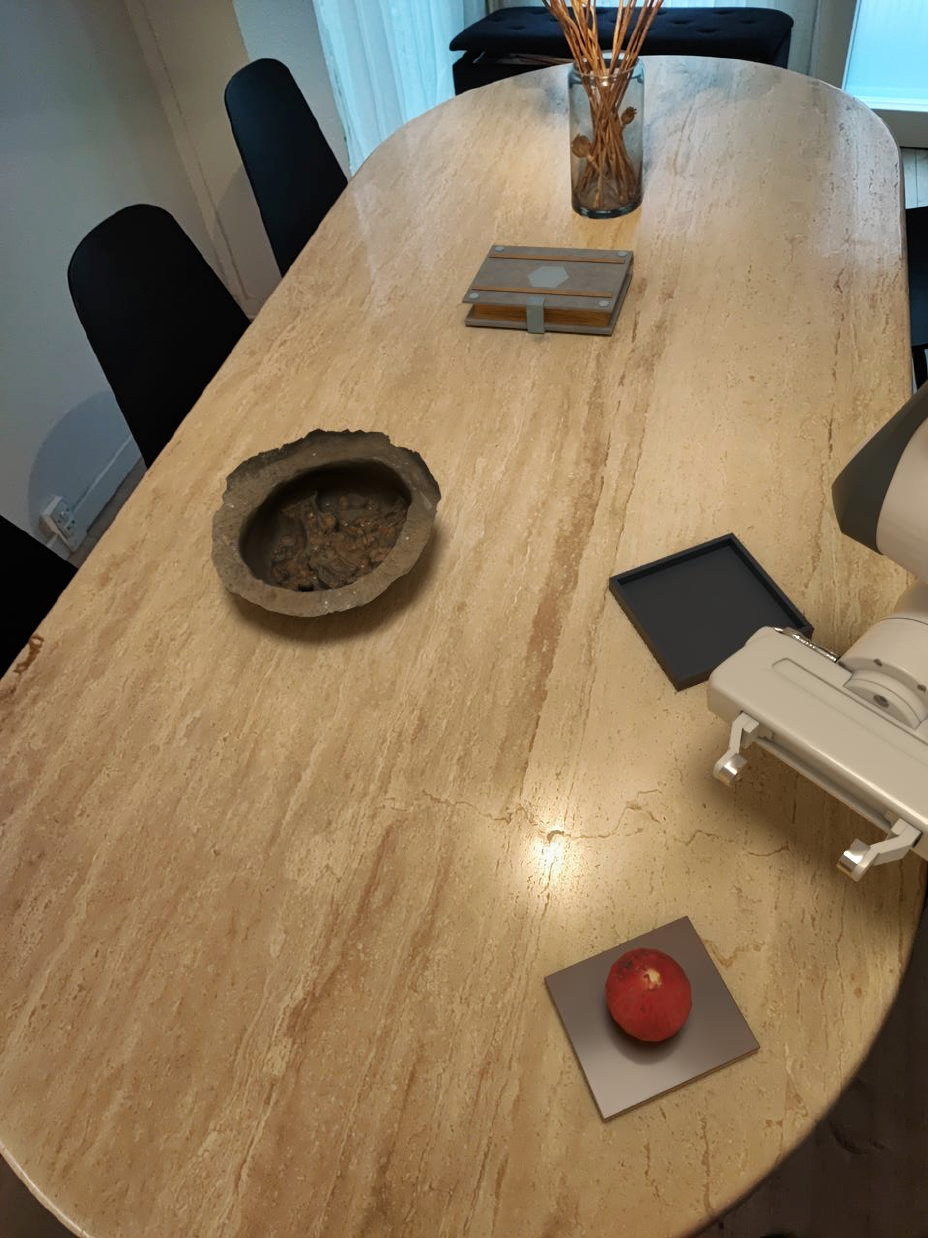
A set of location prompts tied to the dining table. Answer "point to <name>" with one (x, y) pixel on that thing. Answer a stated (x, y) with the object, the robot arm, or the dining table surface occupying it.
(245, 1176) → the dining table surface
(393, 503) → the stone bowl
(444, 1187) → the dining table surface
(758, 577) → the tray
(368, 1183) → the dining table surface
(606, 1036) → the board
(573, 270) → the book
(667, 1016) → the onion
